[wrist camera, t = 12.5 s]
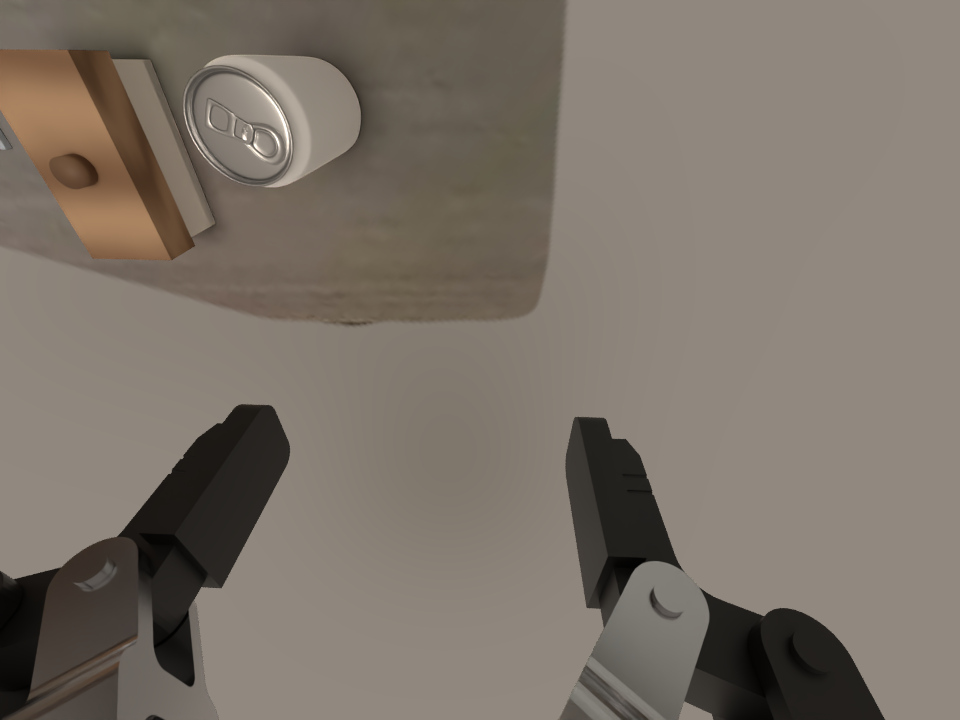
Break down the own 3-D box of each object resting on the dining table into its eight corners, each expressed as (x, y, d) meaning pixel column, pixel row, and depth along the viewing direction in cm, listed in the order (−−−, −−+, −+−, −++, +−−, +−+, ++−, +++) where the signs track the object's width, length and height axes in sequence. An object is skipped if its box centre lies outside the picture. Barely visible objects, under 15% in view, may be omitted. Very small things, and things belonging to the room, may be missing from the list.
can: (349, 171, 33) (287, 215, 23) (270, 128, 31) (169, 157, 22) (374, 89, 29) (314, 102, 20) (288, 35, 28) (176, 22, 18)
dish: (71, 59, 29) (18, 58, 26) (150, 59, 29) (107, 59, 26) (152, 222, 36) (118, 237, 33) (215, 223, 36) (188, 239, 33)
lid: (12, 50, 26) (-61, 48, 22) (108, 50, 25) (48, 49, 22) (121, 244, 34) (79, 264, 30) (194, 245, 33) (160, 266, 30)
